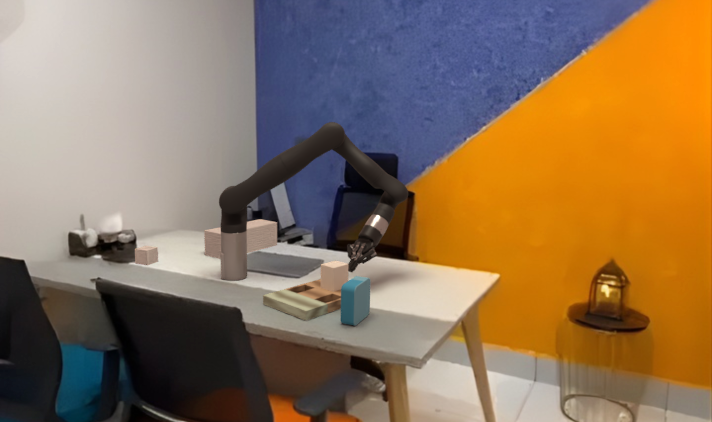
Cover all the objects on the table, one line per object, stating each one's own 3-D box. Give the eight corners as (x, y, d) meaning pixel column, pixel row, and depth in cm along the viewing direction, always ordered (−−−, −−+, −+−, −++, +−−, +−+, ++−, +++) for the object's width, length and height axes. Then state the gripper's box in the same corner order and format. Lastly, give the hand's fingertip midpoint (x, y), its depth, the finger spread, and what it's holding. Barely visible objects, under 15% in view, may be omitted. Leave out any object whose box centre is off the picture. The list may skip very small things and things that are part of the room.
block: (335, 283, 200) (335, 260, 199) (348, 287, 196) (348, 264, 195) (320, 287, 195) (320, 264, 194) (333, 291, 191) (333, 268, 190)
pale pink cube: (158, 261, 233) (157, 247, 232) (147, 265, 227) (147, 250, 226) (146, 260, 235) (145, 245, 234) (135, 263, 230) (134, 248, 229)
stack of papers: (260, 242, 270) (260, 219, 268) (277, 245, 264) (277, 222, 262) (204, 255, 244) (204, 230, 242) (222, 260, 238) (221, 234, 236)
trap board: (321, 286, 206) (322, 278, 205) (364, 300, 193) (364, 291, 192) (263, 304, 187) (263, 295, 187) (305, 320, 174) (305, 311, 173)
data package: (356, 311, 182) (357, 274, 180) (369, 314, 181) (370, 276, 178) (340, 324, 171) (340, 285, 169) (354, 327, 170) (355, 287, 168)
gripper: (354, 221, 209) (330, 260, 202) (383, 227, 200) (358, 268, 194) (364, 233, 214) (340, 272, 207) (392, 239, 205) (368, 280, 198)
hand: (349, 270), depth 200 cm, fingers closed
